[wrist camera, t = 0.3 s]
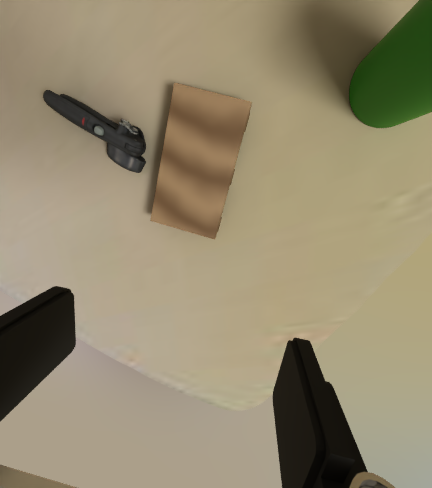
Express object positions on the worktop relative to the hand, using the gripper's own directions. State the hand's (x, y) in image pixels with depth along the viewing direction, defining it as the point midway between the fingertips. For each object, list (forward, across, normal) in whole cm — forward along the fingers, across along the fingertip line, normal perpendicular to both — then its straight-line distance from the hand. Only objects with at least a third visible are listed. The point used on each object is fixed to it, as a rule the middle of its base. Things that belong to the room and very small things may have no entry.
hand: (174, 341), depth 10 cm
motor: (+30, -18, -21) cm, 41 cm away
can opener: (+31, +23, -11) cm, 40 cm away
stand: (+30, +6, -8) cm, 32 cm away
